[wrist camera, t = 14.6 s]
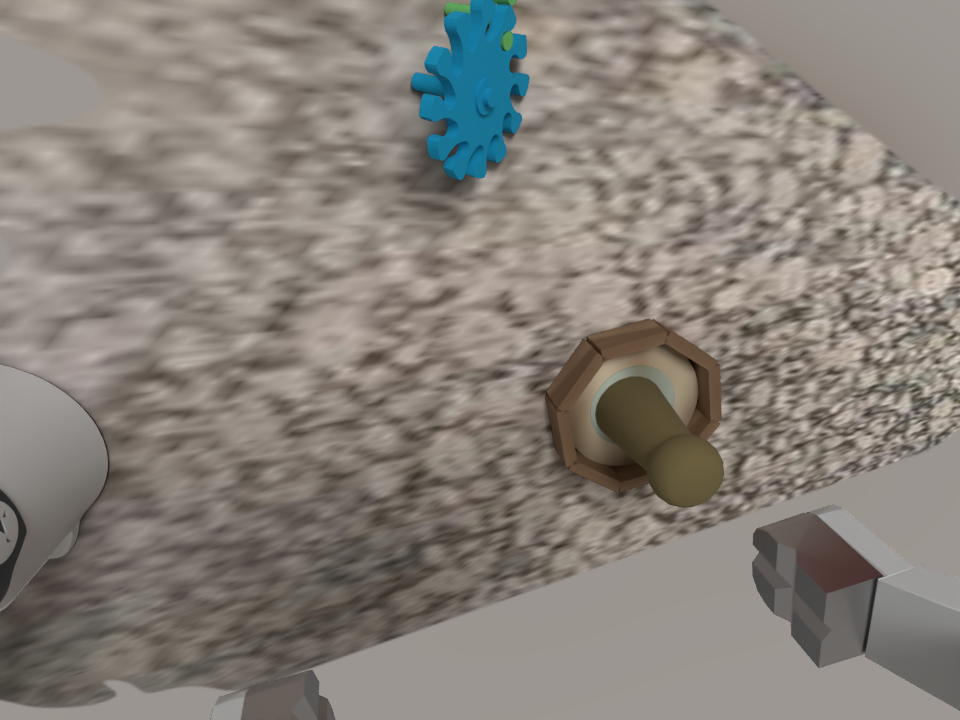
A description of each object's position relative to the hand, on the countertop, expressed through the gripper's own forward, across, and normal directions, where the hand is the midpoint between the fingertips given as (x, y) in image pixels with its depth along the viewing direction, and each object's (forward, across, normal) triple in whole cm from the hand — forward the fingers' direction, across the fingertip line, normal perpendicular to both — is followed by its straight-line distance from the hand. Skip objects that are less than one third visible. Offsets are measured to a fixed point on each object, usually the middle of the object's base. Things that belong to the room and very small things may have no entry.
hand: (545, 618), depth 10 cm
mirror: (+33, -15, +19) cm, 41 cm away
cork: (+32, -15, +19) cm, 40 cm away
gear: (+34, -7, -8) cm, 36 cm away
